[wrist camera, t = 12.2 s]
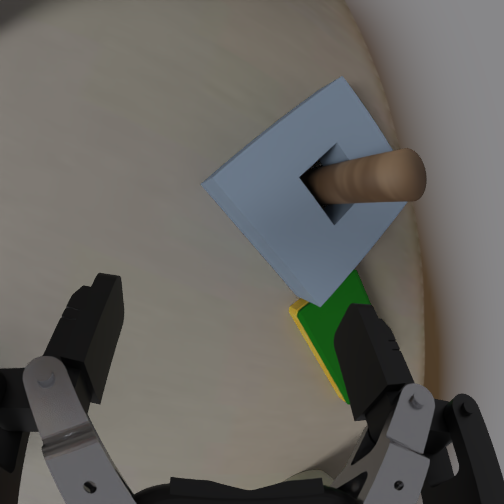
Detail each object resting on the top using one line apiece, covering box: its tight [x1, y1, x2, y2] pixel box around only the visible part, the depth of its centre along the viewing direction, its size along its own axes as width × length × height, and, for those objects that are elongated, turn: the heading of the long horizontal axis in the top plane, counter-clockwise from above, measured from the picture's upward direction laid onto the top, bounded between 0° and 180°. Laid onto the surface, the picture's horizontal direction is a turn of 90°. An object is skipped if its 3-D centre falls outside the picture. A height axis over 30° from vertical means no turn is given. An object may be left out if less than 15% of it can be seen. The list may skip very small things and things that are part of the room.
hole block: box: [201, 76, 407, 307], centre depth 26 cm, size 13×15×4 cm
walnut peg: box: [299, 148, 426, 205], centre depth 22 cm, size 3×3×12 cm
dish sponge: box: [289, 270, 371, 404], centre depth 30 cm, size 7×14×2 cm, turn 31°
